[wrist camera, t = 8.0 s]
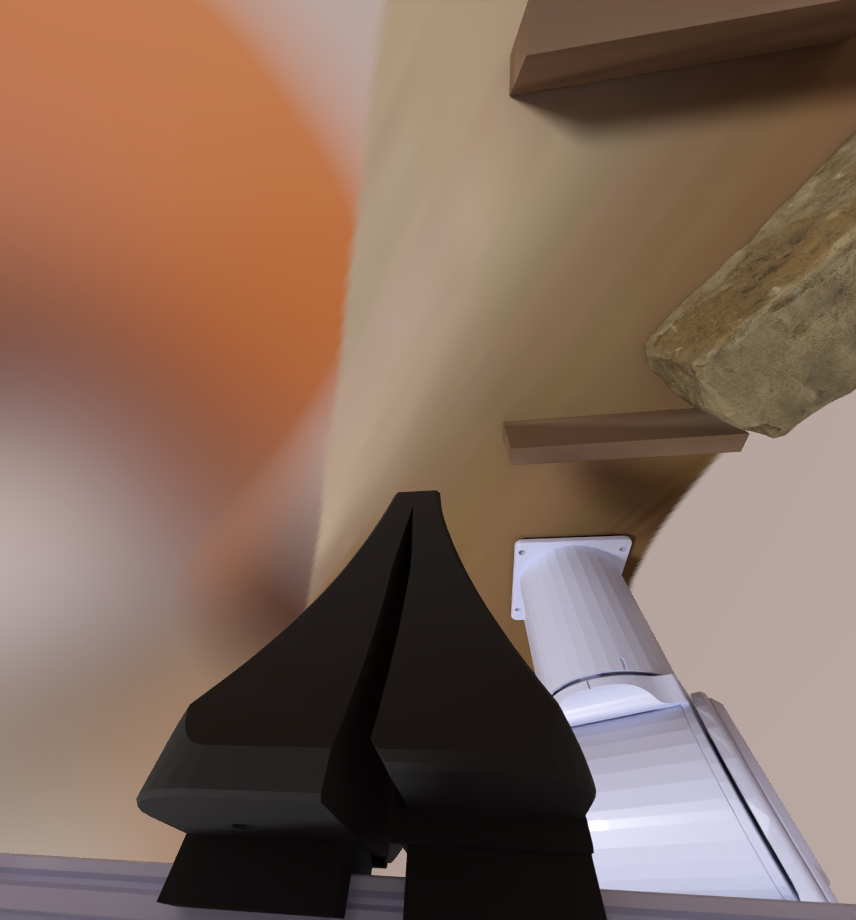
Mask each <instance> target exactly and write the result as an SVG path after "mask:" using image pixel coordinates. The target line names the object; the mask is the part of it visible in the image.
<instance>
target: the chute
mask: <svg viewBox="0 0 856 920" xmlns="http://www.w3.org/2000/svg"><path fill="white" fill-rule="evenodd" d="M854 36H856V0H528V3H527V6H526V9H525V12H524V15H523V19H522V22H521V25H520V28H519V31H518V34H517V37H516V40H515V43H514V46H513V49H512V52H511V55H510V96H514V95H520V94H526V93H532V92H538V91H544V90H550V89H556V88H562V87H568V86H574V85H580V84H586V83H592V82H599V81H605V80H611V79H617V78H623V77H629V76H635V75H641V74H647V73H653V72H659V71H665V70H671V69H677V68H683V67H690V66H696V65H702V64H708V63H714V62H720V61H726V60H732V59H738V58H744V57H750V56H756V55H762V54H768V53H774V52H781V51H787V50H793V49H799V48H805V47H811V46H817V45H823V44H829V43H835V42H841V41H846V40H848V39H850V38H852V37H854ZM748 435H749V433H748V432H746V431H745V430H741V429H739V428H737V427H734V426H732V425H730V424H728V423H726V422H724V421H722V420H720V419H718V418H717V417H715V416H713V415H710V414H708V413H706V412H704V411H702V410H699V409H698V408H694V409H680V410H666V411H652V412H638V413H624V414H610V415H596V416H582V417H569V418H555V419H541V420H527V421H513V422H503V440H504V444H505V447H506V450H507V454H508V457H509V460H510V464H511V465H523V464H540V463H557V462H574V461H591V460H607V459H624V458H641V457H658V456H675V455H692V454H709V453H726V452H740V451H741V450H742V448H743V446H744V443H745V442H746V440H747V437H748Z"/></svg>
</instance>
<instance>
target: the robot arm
mask: <svg viewBox="0 0 856 920" xmlns="http://www.w3.org/2000/svg"><path fill="white" fill-rule="evenodd" d="M631 545H632V541H631V539H630V538H629V537H628V536H600V537H574V538H548V539H522V540H518V541H517V542H516V543H515V550H514V569H513V587H512V606H511V615H512V618H513V619H515V620H524V621H525V626H526V631H527V636H528V640H529V645H530V650H531V655H532V660H533V664H534V669H535V674H536V675H535V674H534V672H533V671H532V670H531V669H530V667H529V666H528V665H527V664H526V662H525V661H524V660H523V658H522V657H521V655H520V654H519V653H518V651H517V650H516V649H515V647H514V646H513V645H512V643H511V642H510V641H509V639H508V638H507V636H506V635H505V633H504V632H503V630H502V629H501V627H500V626H499V624H498V623H497V621H496V620H495V619H494V617H493V616H492V614H491V613H490V611H489V610H488V608H487V607H486V605H485V603H484V602H483V600H482V598H481V597H480V595H479V593H478V592H477V590H476V588H475V586H474V585H473V583H472V581H471V579H470V577H469V576H468V574H467V572H466V570H465V568H464V566H463V564H462V562H461V560H460V558H459V556H458V553H457V551H456V549H455V547H454V544H453V542H452V539H451V537H450V534H449V532H448V529H447V526H446V523H445V520H444V517H443V513H442V507H441V498H440V493H439V492H438V491H436V490H434V491H416V492H398V493H397V494H396V495H395V497H394V498H393V500H392V502H391V503H390V505H389V507H388V508H387V510H386V512H385V513H384V515H383V516H382V518H381V520H380V521H379V523H378V524H377V526H376V527H375V528H374V530H373V531H372V533H371V534H370V536H369V537H368V539H367V540H366V541H365V543H364V544H363V545H362V547H361V548H360V549H359V551H358V552H357V553H356V554H355V556H354V557H353V558H352V560H351V561H350V562H349V563H348V565H347V566H346V567H345V568H344V570H343V571H342V572H341V573H340V574H339V575H338V577H337V578H336V579H335V580H334V581H333V582H332V583H331V584H330V585H329V587H328V588H327V589H326V590H325V591H324V592H323V593H322V594H321V595H320V596H319V597H318V598H317V599H316V600H315V601H314V602H313V603H312V604H311V605H310V606H309V607H308V608H307V609H306V610H305V611H304V612H303V613H302V614H301V615H300V616H299V617H298V618H297V619H296V620H295V621H294V622H293V623H292V624H290V625H289V626H288V627H287V628H286V629H285V630H284V631H282V632H281V633H280V634H279V635H278V636H277V637H275V639H273V640H272V641H271V642H270V643H269V644H267V645H266V646H265V647H264V648H263V649H262V650H260V651H259V652H258V653H257V654H256V655H254V656H253V657H252V658H251V659H250V660H248V661H247V662H246V663H245V664H244V665H242V666H241V667H239V668H238V669H237V670H236V671H234V672H233V673H232V674H230V675H229V676H228V677H226V678H225V679H224V680H222V681H221V682H220V683H218V684H217V685H216V686H214V687H213V688H212V689H210V690H209V691H208V692H206V693H205V694H204V695H202V696H201V697H200V698H198V699H197V700H195V701H194V702H193V703H192V704H190V705H189V707H188V709H187V710H186V712H185V714H184V715H183V717H182V718H181V720H180V722H179V723H178V725H177V726H176V728H175V730H174V732H173V733H172V735H171V737H170V739H169V741H168V742H167V744H166V746H165V748H164V750H163V752H162V753H161V755H160V757H159V759H158V761H157V762H156V764H155V766H154V768H153V769H152V771H151V773H150V775H149V777H148V778H147V780H146V782H145V784H144V786H143V788H142V789H141V791H140V793H139V795H138V797H137V799H136V800H137V805H138V807H139V809H140V810H141V811H142V812H144V813H145V814H147V815H149V816H151V817H153V818H155V819H157V820H159V821H161V822H163V823H165V824H168V825H170V826H172V827H174V828H176V829H178V830H180V831H183V832H185V833H187V834H186V836H185V838H184V841H183V843H182V845H181V847H180V850H179V852H178V854H177V856H176V859H175V861H174V863H160V862H159V863H158V862H143V861H127V860H109V859H93V858H77V857H60V856H44V855H27V854H9V853H0V920H856V904H841V903H838V901H837V900H836V898H835V896H834V895H833V893H832V891H831V889H830V888H829V884H830V881H829V879H828V878H827V876H826V874H825V873H824V871H823V869H822V868H821V867H820V864H819V863H818V861H817V859H816V858H815V856H814V854H813V853H812V851H811V849H810V848H809V846H808V845H807V843H806V841H805V840H804V838H803V836H802V835H801V833H800V831H799V830H798V828H797V826H796V825H795V823H794V822H793V820H792V818H791V816H790V815H789V813H788V812H787V810H786V808H785V807H784V805H783V803H782V802H781V800H780V798H779V797H778V795H777V793H776V792H775V790H774V789H773V787H772V785H771V783H770V782H769V780H768V779H767V777H766V775H765V774H764V772H763V770H762V769H761V767H760V765H759V764H758V762H757V761H756V759H755V757H754V755H753V754H752V752H751V750H750V749H749V747H748V746H747V744H746V742H745V741H744V739H743V737H742V736H741V734H740V732H739V731H738V729H737V727H736V726H735V724H734V723H733V721H732V719H731V717H730V716H729V714H728V713H727V711H726V709H725V708H724V706H723V705H722V704H721V703H719V702H717V701H715V700H714V699H712V698H708V697H707V695H706V694H705V693H703V692H696V693H692V694H691V698H692V699H691V698H690V696H689V695H688V693H687V692H686V691H685V689H684V688H683V686H682V685H681V683H680V682H679V680H678V679H677V677H676V675H675V674H674V672H673V670H672V668H671V666H670V664H669V662H668V661H667V659H666V657H665V655H664V653H663V651H662V649H661V647H660V646H659V644H658V642H657V640H656V638H655V636H654V634H653V633H652V631H651V629H650V627H649V625H648V623H647V621H646V620H645V618H644V616H643V614H642V612H641V610H640V608H639V607H638V605H637V603H636V601H635V599H634V597H633V595H632V593H631V592H630V590H629V588H628V586H627V584H626V582H625V580H624V579H623V577H622V573H623V569H624V566H625V563H626V560H627V557H628V554H629V551H630V548H631ZM521 550H523V551H521ZM692 700H693V701H692ZM402 848H404V850H405V851H406V853H407V863H406V877H392V876H375V875H371V871H372V868H385V869H386V868H387V863H391V862H392V861H393V860H394V859H395V858H396V857H397V855H398V854H399V853H400V851H401V850H402Z"/></svg>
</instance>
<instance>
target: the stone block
mask: <svg viewBox="0 0 856 920" xmlns="http://www.w3.org/2000/svg"><path fill="white" fill-rule="evenodd" d="M644 348H645V355H646V358H647V360H648V364H649V368H650V369H651V370H652V371H653V372H654V373H655V374H657V375H658V376H660V377H661V378H662V379H663V380H664V381H665V383H666V385H667V386H668V387H670V388H671V389H672V390H673V391H674V392H675V393H676V394H677V395H678V396H680V397H681V398H683V399H684V400H686V401H687V402H688V403H689V404H690V405H692V406H693V407H695V408H698V409H699V410H702V411H704V412H706V413H708V414H710V415H713V416H715V417H717V418H718V419H720V420H722V421H724V422H726V423H728V424H730V425H732V426H734V427H737V428H739V429H741V430H747V431H753V432H757V433H760V434H764V435H767V436H769V437H771V438H777V437H781V436H784V435H786V434H787V433H789V432H790V431H791V430H792V429H793V428H794V427H795V426H796V425H797V424H798V423H800V422H801V421H803V420H804V419H806V418H807V417H809V416H810V415H811V414H813V413H814V412H816V411H818V410H819V409H821V408H822V407H824V406H825V405H827V404H828V403H830V402H833V401H834V400H837V399H839V398H841V397H843V396H845V395H847V394H849V393H851V392H852V391H854V390H855V389H856V131H855V132H854V133H853V134H852V135H851V136H850V137H849V138H848V139H847V140H846V141H845V142H844V143H843V144H842V145H841V146H840V147H839V149H838V150H837V151H836V152H835V153H834V154H833V155H832V156H831V157H830V158H829V159H828V160H827V161H826V162H825V163H824V164H823V165H822V166H821V167H820V168H819V169H818V170H817V171H816V172H815V173H814V174H813V175H812V176H811V177H810V178H809V179H808V180H807V181H806V182H805V184H804V185H803V186H802V187H801V188H800V189H799V190H798V191H797V192H796V193H795V194H794V195H793V196H792V197H791V198H790V199H788V200H787V201H786V202H785V203H784V204H783V205H782V206H780V207H779V208H778V209H777V210H776V211H775V212H774V213H773V215H772V216H771V217H770V219H769V220H768V221H767V222H766V223H765V224H764V225H763V227H762V228H761V229H760V230H759V232H758V233H757V234H756V235H755V236H754V238H753V239H752V240H751V241H750V242H749V243H748V244H747V245H745V246H744V247H743V248H741V249H740V250H738V251H737V252H736V253H734V254H733V255H731V256H730V257H729V258H728V259H727V260H726V262H725V263H724V264H723V266H722V267H721V268H720V269H719V270H718V271H717V272H716V273H715V274H714V275H713V276H712V277H711V278H710V279H709V280H707V281H706V282H705V283H704V284H703V285H702V286H701V287H700V288H698V289H697V290H696V291H695V292H693V293H692V294H691V295H690V296H689V297H687V298H686V299H685V300H684V301H683V302H682V303H681V304H680V305H679V306H678V307H677V308H676V309H675V310H674V311H673V312H672V313H671V314H670V315H669V316H668V317H667V318H666V320H665V321H664V322H663V323H662V324H661V325H660V326H659V328H658V329H657V330H656V331H655V332H654V334H653V335H652V336H651V337H650V338H649V339H648V341H647V342H646V343H645V344H644Z"/></svg>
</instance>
